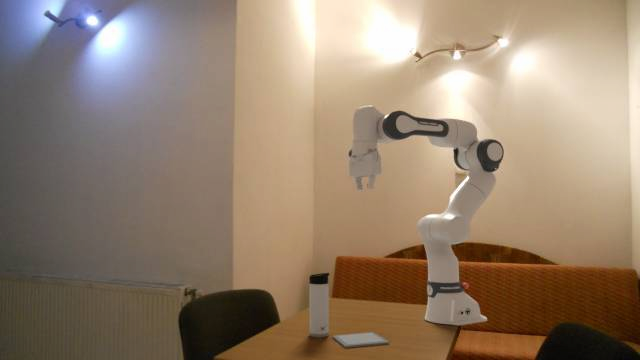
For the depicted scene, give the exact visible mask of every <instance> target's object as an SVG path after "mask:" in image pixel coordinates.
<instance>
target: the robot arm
mask: <svg viewBox="0 0 640 360" xmlns="http://www.w3.org/2000/svg"><path fill="white" fill-rule="evenodd" d="M352 119H353V120H352V133H353V139H352V146H351V149H350V150H349V151H348V155H347V156H348V158H349V161H348V164H349V165H348V166H349V167H348V169H349V176H350V178H351V179H354V182H355V184H356V190H358V191H359V190H360V191H362V190H363V189H364V187H363V184H362V181H363V178H367V179H368V182H367V189H368V190H370V189H371V190H373V189H375V181H376V176H380V175H381V173H382V159H381V158H382V157H381V155H380V154H379V150H378V143H381V144H390V143H393V142H396V141H402V140H405V139H407V138H410V137H412V136H416V137H419V136H420V137H427V139H428V141H429V142H430V144H431V145H432V146H435V147H436V146H437V147H441V148H453V161H454V164H455V165H456V167H457V168H458V169H460V170H461V171H468V173H467V176H466V177H465V179H463V181H462V182H461V183H460V184H459V185H458V187H456V189H454V191H453V192H452V194H451V195H450V196H449V198H448V204H447V207H446V208H445V210H444V211H443V212H442V213H431V214H427V215H425V216H422V217H421V218H420V219H419V220H418V221H417V225H416V232H417V234H418V235H419V237H420V238H421V240H422V243H423V246H424V249H425V254H426V260H427V277H428V278H427V281H426V284H427V285H426V293H427V304H426V305H427V306H426V312H425V316H424V320H425V321H427V322H430V323H434V324H441V325H442V324H443V325H452V326H466V325H472V324H477V323H485V322H487V321H488V318H487V316H485V315H483V314H481V309H480V305H479V303H478V302H477V301H476V300H475V299H473V298H472V297H471V296H470V295H469V294H467V293H466V292H465V290H466V289H469V288H470V284H469V283H468V282H462V281H460V273H459V272H460V271H459V270H460V269H459V268H460V267H459V259H458V257H457V256H456V255H455V252H454V250H453V249H452V245H457V244H461V243H464V242H466V241H467V240H468V238H469V237H470V235H471V225H470V223H471V222H472V219H473V217H474V215H475V214H476V213H477V211H478V210H479V209H480V208H481V207H482V205H483V204H484V203H485V202H486V201H487V199H488V198H489V196H490V195H491V193H492V191H493V189H494V188H495V186H496V184H497V178H496V175H495V174H494V173H493V172H496V171H497V170H498V169H500V165H501V163H502V162H503V159H504V156H505V155H504V153H505V151H504V150H505V149H504V147H503V145H502V143H501V142H500V141H498V140H497V139H493V138H491V139H490V138H485V139H482V140H479V138H478V129H477V127H476V125H475V124H474V123H473V122H470V121H466V120H463V119H459V118H449V117H448V118H444V117H443V118H426V117H424V118H423V117H418V116H414V115H411V113H408V112H406V111H403V110H394V111H392V112H390V113H388V114H384V113H383V112H381V111H380V110H378V109H377V107H376V106H374V105H364V106H359V107H358V108H357V109H355V110H354V114H353V118H352ZM464 289H465V290H464Z"/></svg>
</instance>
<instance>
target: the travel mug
mask: <svg viewBox="0 0 640 360" xmlns="http://www.w3.org/2000/svg"><path fill="white" fill-rule="evenodd" d="M329 276H330V272H326V273H323V272H322V273H315V274H311V275H309V278H308V279H309V282H308V283H309V289H308V290H309V291H308V292H309V296H308V297H309V300H308V302H309V303H308V305H309V307H308V308H309V309H308V311H309V315H308V316H309V317H308V318H309V323H308V324H309V326H308V327H309V329H308V330H309V336H310V337H312V338H318V339H319V338H322V339H323V338H327V337H328V336H329V335H330V331H329V329H330V327H329V325H330V323H329V319H330V318H329V317H330V316H329V315H330V312H329V311H330V310H329V309H330V308H329V307H330V306H329V304H330V302H329V289H330V288H329Z"/></svg>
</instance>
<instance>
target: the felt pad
mask: <svg viewBox="0 0 640 360" xmlns="http://www.w3.org/2000/svg"><path fill="white" fill-rule="evenodd" d="M331 336H332V337H331V338H332V339H333V340H334V341H336V342H337V343H338V344H339V345H341V346H342V347H343V348H344V349H350V348H351V349H352V348H359V347H370V346H372V345H373V346H381V345H389V344H390V341H388V340H386V339H385V338H384V337H382V336H380V335H379V334H377V333H375V332H373V331H370V332H359V333H348V334H336V335H331Z"/></svg>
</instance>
